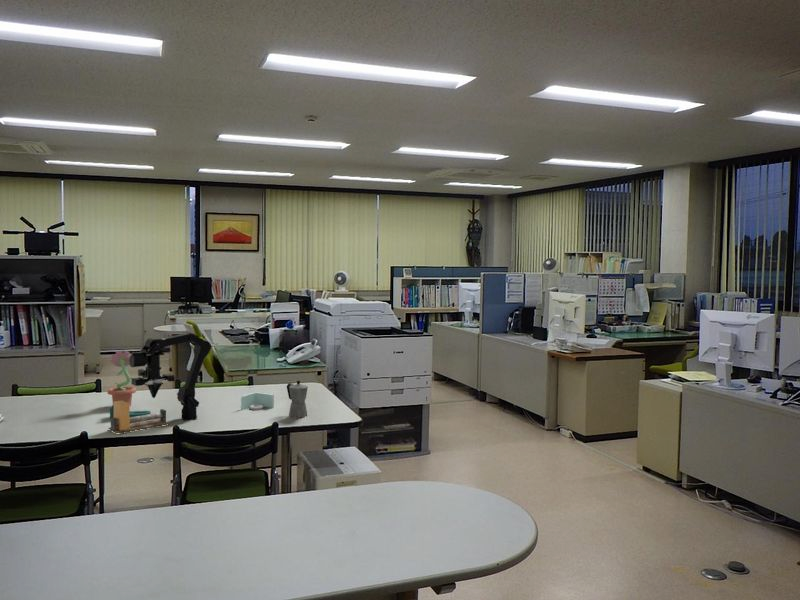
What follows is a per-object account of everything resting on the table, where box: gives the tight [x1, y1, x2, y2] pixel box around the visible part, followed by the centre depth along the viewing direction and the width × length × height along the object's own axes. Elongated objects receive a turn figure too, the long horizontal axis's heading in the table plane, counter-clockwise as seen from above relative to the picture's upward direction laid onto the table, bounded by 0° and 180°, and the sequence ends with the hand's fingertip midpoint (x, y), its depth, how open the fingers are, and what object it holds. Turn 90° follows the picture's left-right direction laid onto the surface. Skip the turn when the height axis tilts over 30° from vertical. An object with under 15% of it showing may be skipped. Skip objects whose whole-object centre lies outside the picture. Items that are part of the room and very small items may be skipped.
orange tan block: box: [112, 401, 130, 431], centre depth 286 cm, size 4×8×12 cm, turn 45°
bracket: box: [109, 404, 152, 420], centre depth 309 cm, size 18×7×8 cm, turn 107°
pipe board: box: [107, 408, 170, 434], centre depth 292 cm, size 24×10×6 cm, turn 135°
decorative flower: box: [107, 350, 137, 407], centre depth 328 cm, size 15×14×30 cm
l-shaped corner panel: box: [240, 391, 275, 411], centre depth 331 cm, size 12×12×8 cm
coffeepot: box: [286, 380, 308, 419], centre depth 319 cm, size 15×9×18 cm, turn 49°
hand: (153, 397), depth 296 cm, fingers closed
